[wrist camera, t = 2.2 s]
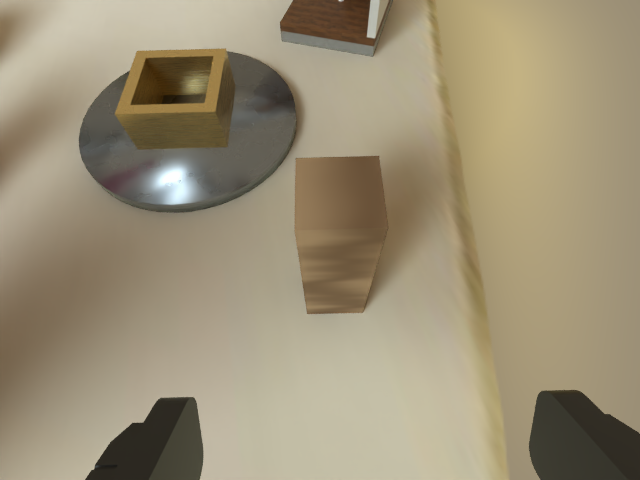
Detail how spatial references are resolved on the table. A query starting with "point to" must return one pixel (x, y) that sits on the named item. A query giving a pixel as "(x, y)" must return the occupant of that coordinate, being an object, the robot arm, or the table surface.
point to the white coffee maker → (336, 24)
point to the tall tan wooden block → (339, 230)
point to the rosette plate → (188, 129)
